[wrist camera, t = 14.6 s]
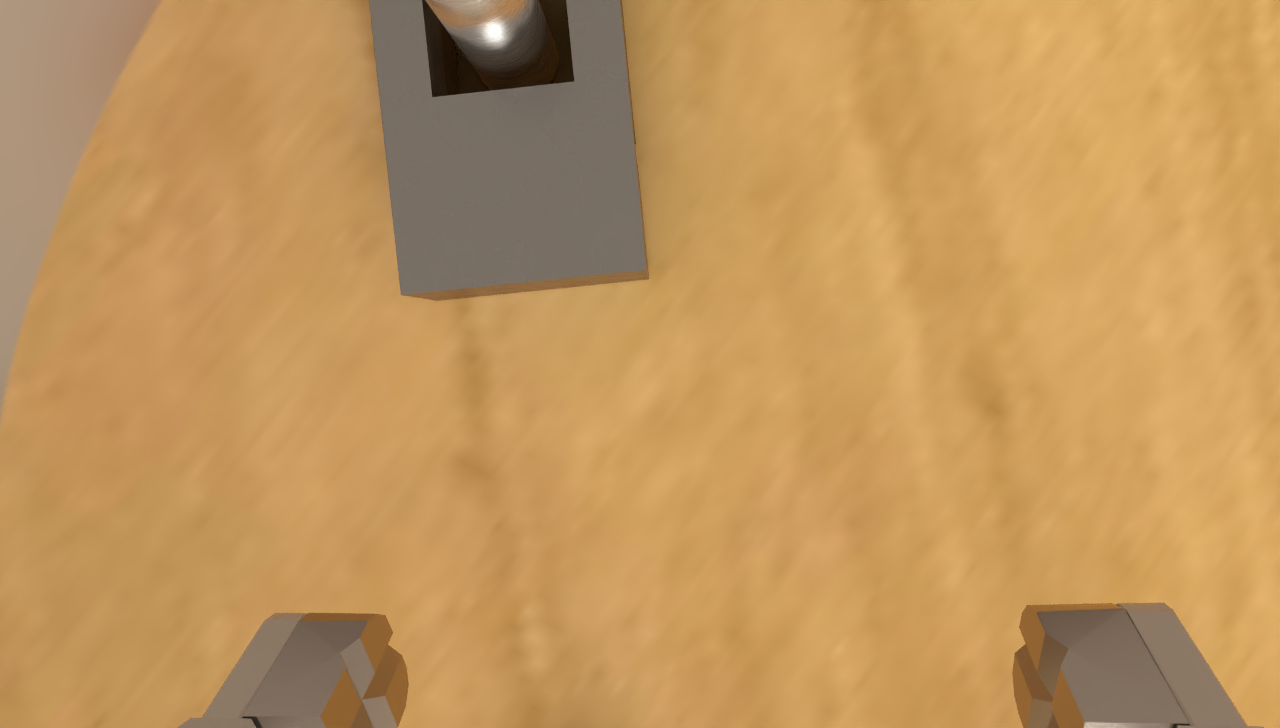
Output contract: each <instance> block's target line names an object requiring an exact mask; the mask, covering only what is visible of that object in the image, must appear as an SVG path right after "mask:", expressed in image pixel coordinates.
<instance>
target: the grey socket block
mask: <svg viewBox="0 0 1280 728" xmlns="http://www.w3.org/2000/svg"><path fill="white" fill-rule="evenodd" d="M369 3H370V13H371V22H372V31H373V40H374V50H375V59H376V68H377V77H378V87H379V96H380V105H381V114H382V123H383V133H384V142H385V151H386V160H387V170H388V179H389V188H390V197H391V207H392V216H393V225H394V234H395V244H396V253H397V262H398V271H399V280H400V290H401V295H404V296H410V297H417V298H423V299H429V300H436V301H438V300H448V299H458V298H467V297H477V296H487V295H497V294H507V293H517V292H526V291H536V290H546V289H556V288H566V287H576V286H585V285H595V284H605V283H615V282H625V281H635V280H644V279H649V274H648V264H647V254H646V244H645V234H644V223H643V213H642V203H641V193H640V183H639V173H638V166H637V160H636V150H635V144H636V142H635V132H634V122H633V112H632V101H631V91H630V81H629V71H628V61H627V51H626V40H625V30H624V20H623V10H622V0H566V4H567V14H568V24H569V34H570V43H571V53H572V63H573V73H574V82H565V83H556V84H547V85H538V86H529V87H520V88H511V89H502V90H493V91H484V92H475V93H466V94H460V87H459V78H458V68H457V59H456V49H455V41H454V40H453V38H452V37H451V35H450V34H449V33H448V31H447V30H446V28H445V27H444V26H443V24H442V23H441V21H440V20H439V19H438V17H437V16H436V14H435V13H434V12H433V10H432V9H431V7H430V6H429V5H428V3H427V2H426V0H369Z"/></svg>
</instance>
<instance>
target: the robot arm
mask: <svg viewBox="0 0 1280 728" xmlns="http://www.w3.org/2000/svg"><path fill="white" fill-rule="evenodd" d="M1019 628H1020V630H1021V633H1022V635H1023V638H1024V641H1025V643H1026V644H1025V645H1024V646H1023V647H1021V648H1020V649H1019V650H1018V651H1017V652H1015V656H1014V664H1013V672H1012V673H1013V685H1014V696H1015V700H1016V704H1017V709H1018V713H1019V716H1020V719H1021V722H1022V725H1023V728H1264V727H1257V726H1247V724H1246V723H1245V721H1244V719H1243V718H1242V716H1241V715H1240V713H1239V712H1238V710H1237V709H1236V707H1235V705H1234V704H1233V702H1232V701H1231V699H1230V698H1229V696H1228V695H1227V693H1226V691H1225V690H1224V688H1223V687H1222V685H1221V684H1220V682H1219V681H1218V679H1217V677H1216V676H1215V674H1214V673H1213V671H1212V670H1211V668H1210V667H1209V665H1208V663H1207V662H1206V660H1205V659H1204V657H1203V656H1202V654H1201V652H1200V651H1199V649H1198V648H1197V646H1196V645H1195V643H1194V642H1193V640H1192V638H1191V637H1190V635H1189V634H1188V632H1187V631H1186V629H1185V628H1184V626H1183V624H1182V623H1181V621H1180V620H1179V618H1178V617H1177V615H1176V614H1175V612H1174V610H1173V609H1171V608H1170V607H1169V606H1167V605H1166V604H1165V603H1120V604H1112V603H1101V604H1057V605H1027V606H1026V608H1025V609H1024V610H1023V612H1022V616H1021V621H1020V626H1019ZM392 634H393V631H392V629H391V627H390V624H389V622H388V620H387V618H386V616H385V615H380V614H355V613H275V614H273V615H272V616H271V617H269V618H268V619H266V620H265V621H264V622H263V624H262V625H261V627H260V628H259V630H258V631H257V633H256V634H255V636H254V637H253V639H252V641H251V642H250V644H249V645H248V647H247V648H246V650H245V651H244V653H243V655H242V656H241V658H240V659H239V661H238V662H237V664H236V665H235V667H234V668H233V670H232V672H231V673H230V675H229V676H228V678H227V679H226V681H225V682H224V684H223V686H222V687H221V689H220V690H219V692H218V693H217V695H216V696H215V698H214V699H213V701H212V703H211V704H210V706H209V707H208V709H207V710H206V712H205V713H204V715H203V717H202V718H190V719H189V720H188V721H186V722H185V723H183V724H182V725H181V726H179V727H178V728H398V726H399V723H400V721H401V718H402V715H403V713H404V710H405V707H406V700H407V693H408V685H409V683H408V675H407V667H406V665H405V662H404V659H403V657H402V655H401V654H400V653H398V652H397V651H396V650H394V649H393V648H392V647H390V646H389V645H388V643H389V641H390V638H391V636H392Z"/></svg>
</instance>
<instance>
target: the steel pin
mask: <svg viewBox="0 0 1280 728" xmlns="http://www.w3.org/2000/svg"><path fill="white" fill-rule="evenodd" d="M426 2H427V3H428V5H429V6H430V7H431V9H432V10H433V12H434V13H435V14H436V16H437V17H438V19H439V20H440V21H441V23H442V24H443V26H444V27H445V28H446V30H447V31H448V33H449V34H450V35H451V37H452V38H453V40H454V41H455V43H456V44H457V45H458V47H459V48H460V50H461V51H462V52H463V54H464V55H465V57H466V58H467V59H468V61H469V62H470V64H471V65H472V66H473V68H474V69H475V71H476V72H477V73H478V75H479V76H480V78H481V79H482V80H483V82H484V83H485V85H486V86H487V87H488V88H489V89H490V90H491V91H493V90H502V89H511V88H520V87H529V86H538V85H547V84H551V83H552V82H553V80H554V78H555V76H556V73H557V69H558V62H559V61H558V51H557V48H556V45H555V42H554V39H553V37H552V34H551V31H550V29H549V26H548V23H547V21H546V18H545V15H544V13H543V10H542V7H541V5H540V2H539V0H426Z"/></svg>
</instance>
